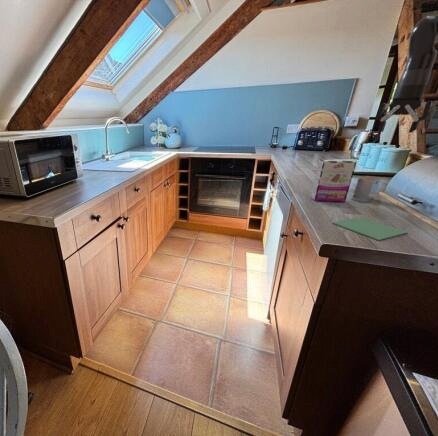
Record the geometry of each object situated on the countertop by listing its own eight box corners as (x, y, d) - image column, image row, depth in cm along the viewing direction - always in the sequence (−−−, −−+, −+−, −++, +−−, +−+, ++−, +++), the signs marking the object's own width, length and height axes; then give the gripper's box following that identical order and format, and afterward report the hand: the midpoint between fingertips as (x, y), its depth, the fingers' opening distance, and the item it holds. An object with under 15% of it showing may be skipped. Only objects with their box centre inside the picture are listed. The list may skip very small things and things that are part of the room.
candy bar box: (339, 199, 102) (351, 159, 95) (345, 202, 97) (358, 161, 91) (309, 197, 104) (319, 158, 98) (313, 201, 100) (324, 160, 93)
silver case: (351, 199, 101) (358, 178, 97) (359, 196, 104) (366, 175, 101) (366, 202, 97) (373, 180, 93) (373, 199, 101) (381, 177, 97)
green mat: (359, 217, 83) (359, 216, 83) (407, 233, 72) (408, 232, 71) (332, 223, 79) (332, 222, 79) (378, 241, 68) (379, 239, 67)
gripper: (443, 82, 84) (424, 132, 90) (389, 87, 95) (375, 131, 101) (438, 81, 80) (418, 133, 86) (382, 86, 91) (368, 131, 97)
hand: (395, 132), depth 94 cm, fingers open, 8 cm apart
